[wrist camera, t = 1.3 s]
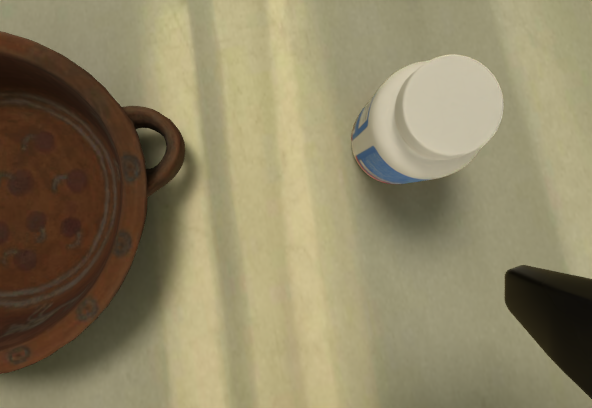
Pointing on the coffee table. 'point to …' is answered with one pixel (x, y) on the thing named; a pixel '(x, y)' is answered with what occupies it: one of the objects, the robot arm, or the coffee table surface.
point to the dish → (66, 197)
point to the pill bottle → (427, 120)
